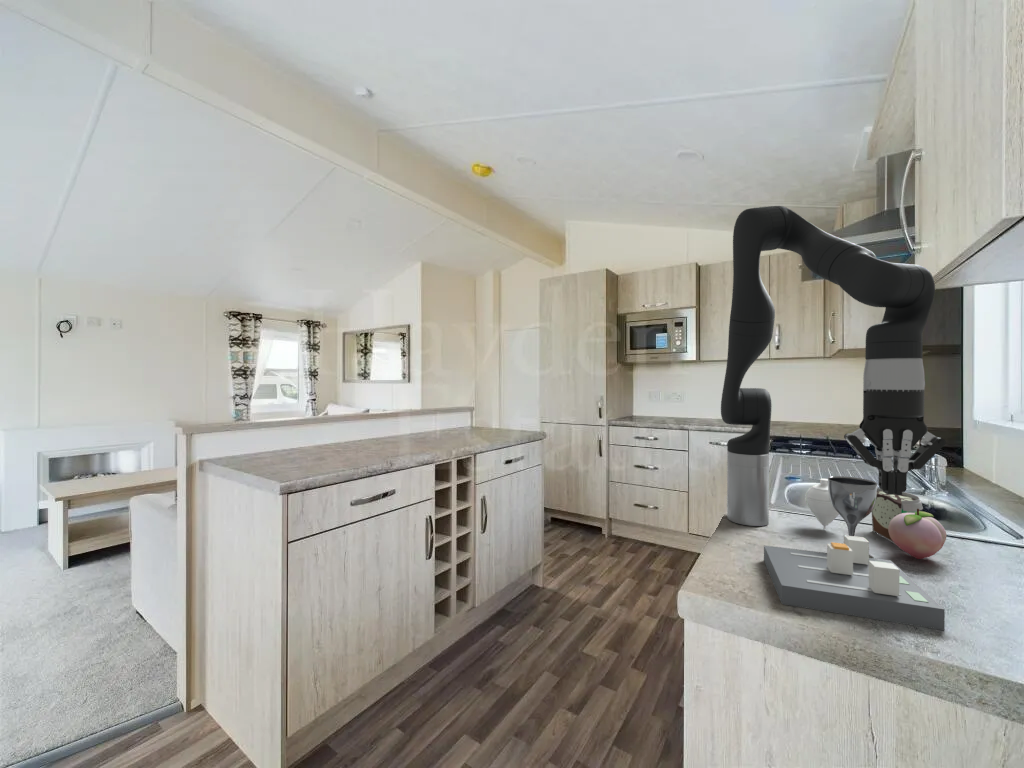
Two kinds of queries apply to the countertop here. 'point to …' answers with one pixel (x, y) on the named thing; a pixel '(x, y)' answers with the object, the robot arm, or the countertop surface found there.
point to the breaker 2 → (884, 578)
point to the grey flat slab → (847, 589)
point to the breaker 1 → (858, 548)
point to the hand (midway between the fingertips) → (891, 493)
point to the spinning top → (821, 503)
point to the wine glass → (852, 499)
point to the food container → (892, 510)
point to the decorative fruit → (917, 534)
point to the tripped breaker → (839, 558)
